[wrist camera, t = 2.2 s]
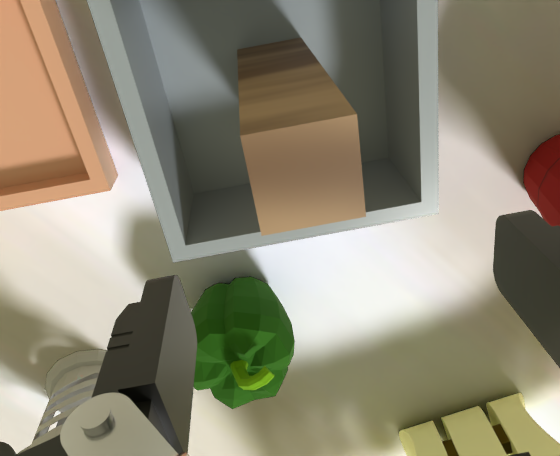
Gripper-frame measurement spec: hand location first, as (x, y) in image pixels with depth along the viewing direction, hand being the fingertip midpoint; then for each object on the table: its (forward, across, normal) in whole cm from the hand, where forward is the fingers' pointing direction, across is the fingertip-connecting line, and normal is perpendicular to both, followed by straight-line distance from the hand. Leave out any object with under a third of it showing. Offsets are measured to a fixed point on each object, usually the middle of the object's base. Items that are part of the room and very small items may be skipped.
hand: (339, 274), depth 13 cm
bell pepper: (+23, +6, +18) cm, 30 cm away
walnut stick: (+22, 0, 0) cm, 22 cm away
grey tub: (+23, 0, 0) cm, 23 cm away
